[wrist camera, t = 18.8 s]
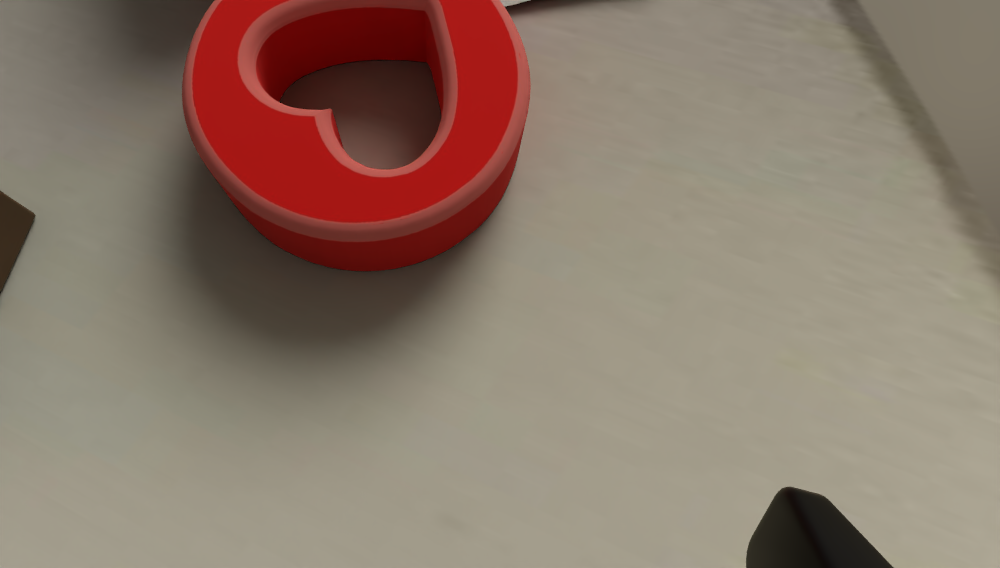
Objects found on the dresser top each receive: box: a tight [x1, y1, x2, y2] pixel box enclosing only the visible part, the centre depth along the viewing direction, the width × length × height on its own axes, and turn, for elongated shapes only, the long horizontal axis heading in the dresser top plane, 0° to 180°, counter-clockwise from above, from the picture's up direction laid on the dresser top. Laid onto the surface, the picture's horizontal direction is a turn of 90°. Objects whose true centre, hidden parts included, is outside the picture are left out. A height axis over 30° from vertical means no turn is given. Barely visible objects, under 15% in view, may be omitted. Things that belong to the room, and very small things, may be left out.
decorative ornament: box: [182, 0, 530, 271], centre depth 22 cm, size 10×10×3 cm
